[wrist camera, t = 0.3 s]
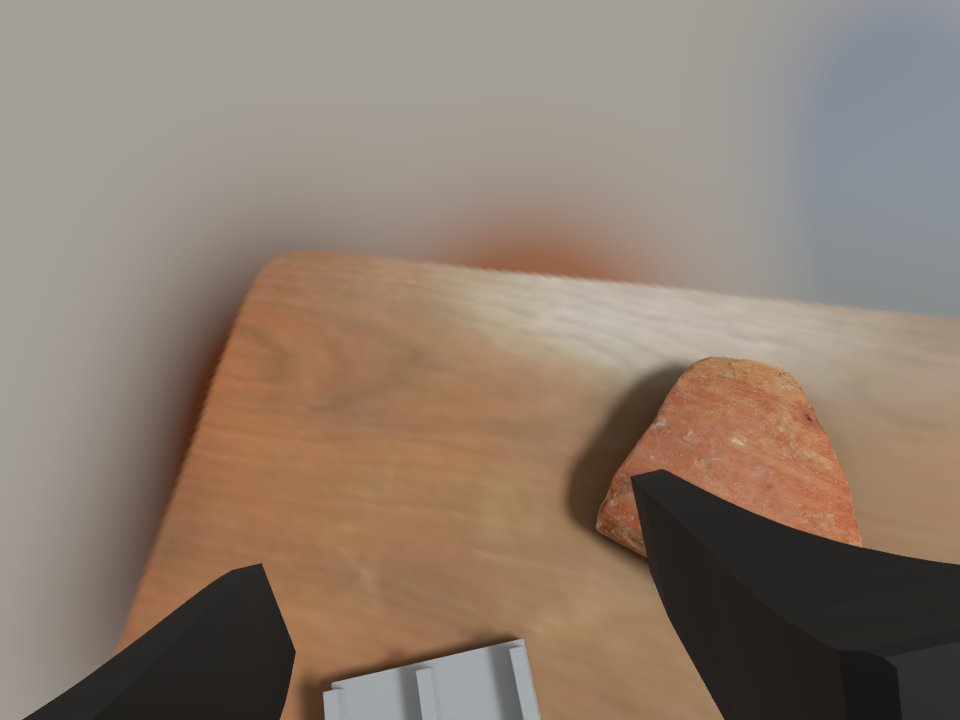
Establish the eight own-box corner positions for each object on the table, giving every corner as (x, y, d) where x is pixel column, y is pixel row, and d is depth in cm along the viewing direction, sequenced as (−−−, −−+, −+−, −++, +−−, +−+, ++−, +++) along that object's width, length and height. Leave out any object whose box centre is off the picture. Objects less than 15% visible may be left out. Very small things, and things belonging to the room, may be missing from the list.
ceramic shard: (940, 409, 36) (854, 662, 32) (881, 430, 42) (803, 644, 38) (695, 304, 39) (593, 525, 35) (673, 338, 45) (584, 529, 41)
